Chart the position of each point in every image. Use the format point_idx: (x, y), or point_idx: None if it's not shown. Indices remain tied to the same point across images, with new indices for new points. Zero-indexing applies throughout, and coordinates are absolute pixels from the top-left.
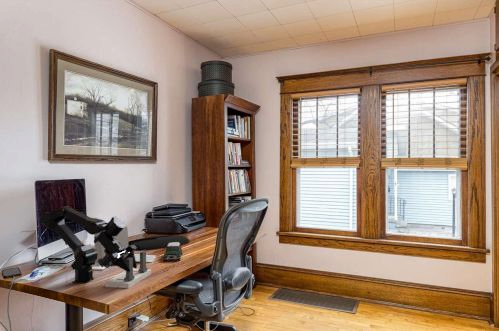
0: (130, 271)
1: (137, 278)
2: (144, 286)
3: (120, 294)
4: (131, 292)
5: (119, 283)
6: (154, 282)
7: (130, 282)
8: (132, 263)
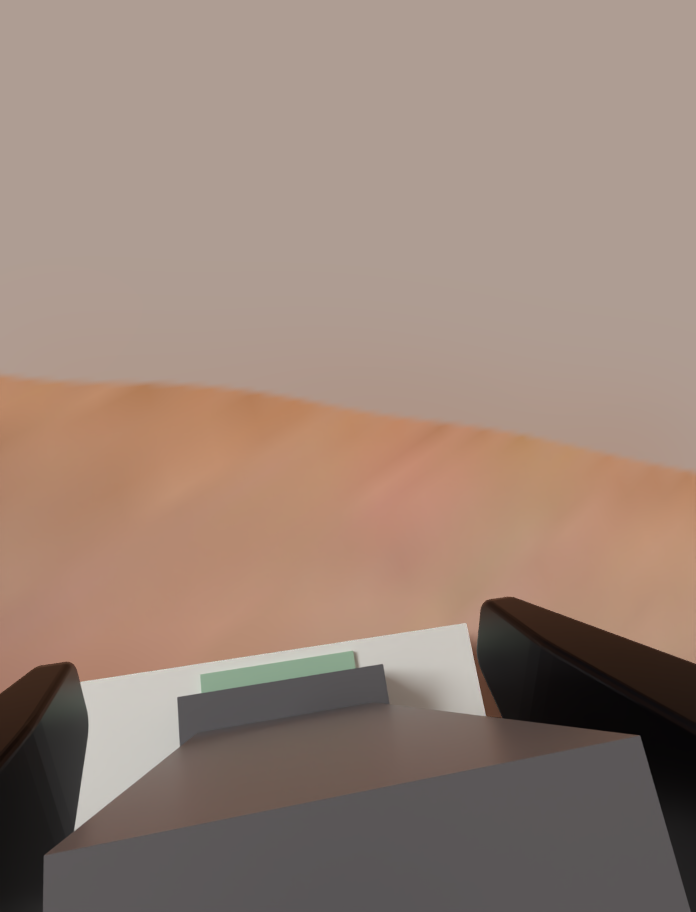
0: (337, 717)
1: (100, 680)
2: (278, 433)
3: (679, 572)
4: (553, 470)
5: None
6: (57, 383)
7: (392, 635)
8: (186, 772)
